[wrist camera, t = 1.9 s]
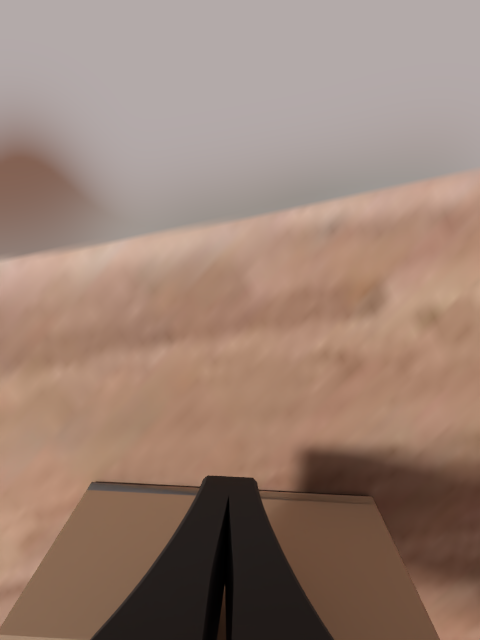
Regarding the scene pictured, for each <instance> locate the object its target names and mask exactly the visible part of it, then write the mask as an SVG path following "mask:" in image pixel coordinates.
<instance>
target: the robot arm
mask: <svg viewBox="0 0 480 640" xmlns="http://www.w3.org/2000/svg"><path fill="white" fill-rule="evenodd" d="M224 586H225V609H226V640H334V639H333V637H332V636H331V634H330V633H329V631H328V629H327V628H326V626H325V625H324V623H323V622H322V620H321V619H320V617H319V615H318V614H317V612H316V610H315V609H314V607H313V606H312V604H311V602H310V601H309V599H308V597H307V596H306V594H305V592H304V590H303V589H302V587H301V585H300V583H299V581H298V580H297V578H296V576H295V574H294V572H293V570H292V568H291V566H290V564H289V563H288V561H287V559H286V557H285V555H284V553H283V551H282V549H281V546H280V544H279V542H278V540H277V537H276V535H275V533H274V531H273V529H272V526H271V524H270V522H269V519H268V517H267V514H266V511H265V509H264V506H263V503H262V500H261V497H260V494H259V490H258V486H257V482H256V481H255V480H254V478H245V477H226V476H207V477H205V478H204V479H203V481H202V484H201V486H200V489H199V491H198V493H197V495H196V497H195V499H194V501H193V502H192V504H191V506H190V508H189V510H188V511H187V513H186V515H185V516H184V518H183V520H182V521H181V523H180V524H179V526H178V528H177V529H176V531H175V533H174V534H173V536H172V537H171V539H170V540H169V542H168V543H167V545H166V546H165V547H164V549H163V550H162V552H161V553H160V555H159V556H158V557H157V559H156V560H155V562H154V563H153V564H152V566H151V567H150V569H149V570H148V571H147V573H146V574H145V575H144V577H143V578H142V579H141V580H140V582H139V583H138V584H137V586H136V587H135V588H134V589H133V591H132V592H131V593H130V594H129V595H128V597H127V598H126V599H125V600H124V601H123V603H122V604H121V605H120V606H119V607H118V609H117V610H116V611H115V612H114V613H113V614H112V615H111V617H110V618H109V619H108V620H107V621H106V622H105V623H104V624H103V625H102V627H101V628H100V629H99V630H98V631H97V632H96V633H95V634H94V636H93V637H92V638H91V639H90V640H217V635H218V628H219V621H220V614H221V607H222V600H223V593H224Z"/></svg>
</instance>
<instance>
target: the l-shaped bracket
mask: <svg viewBox="0 0 480 640" xmlns="http://www.w3.org/2000/svg"><path fill="white" fill-rule="evenodd" d="M199 489H200V488H195V487H175V486H156V485H137V484H118V483H98V482H92V483H91V484H90V486H89V488H88V489H87V491H86V492H85V494H84V495H83V497H82V499H81V500H80V502H79V503H78V505H77V507H76V508H75V510H74V511H73V513H72V515H71V516H70V518H69V519H68V521H67V522H66V524H65V526H64V527H63V529H62V530H61V532H60V534H59V535H58V537H57V538H56V540H55V542H54V543H53V545H52V546H51V548H50V549H49V551H48V553H47V554H46V556H45V557H44V559H43V561H42V562H41V564H40V565H39V567H38V569H37V570H36V572H35V573H34V575H33V576H32V578H31V580H30V581H29V583H28V584H27V586H26V588H25V589H24V591H23V592H22V594H21V596H20V597H19V599H18V600H17V602H16V603H15V605H14V607H13V608H12V610H11V611H10V613H9V615H8V616H7V618H6V619H5V621H4V623H3V624H2V626H1V627H0V640H90V639H91V638H92V637H93V636H94V634H95V633H96V632H97V631H98V630H99V629H100V628H101V627H102V625H103V624H104V623H105V622H106V621H107V620H108V619H109V618H110V617H111V615H112V614H113V613H114V612H115V611H116V610H117V609H118V607H119V606H120V605H121V604H122V603H123V601H124V600H125V599H126V598H127V597H128V595H129V594H130V593H131V592H132V591H133V589H134V588H135V587H136V586H137V584H138V583H139V582H140V580H141V579H142V578H143V577H144V575H145V574H146V573H147V571H148V570H149V569H150V567H151V566H152V564H153V563H154V562H155V560H156V559H157V557H158V556H159V555H160V553H161V552H162V550H163V549H164V547H165V546H166V545H167V543H168V542H169V540H170V539H171V537H172V536H173V534H174V533H175V531H176V529H177V528H178V526H179V524H180V523H181V521H182V520H183V518H184V516H185V515H186V513H187V511H188V510H189V508H190V506H191V504H192V502H193V501H194V499H195V497H196V495H197V493H198V491H199ZM259 494H260V497H261V500H262V503H263V506H264V509H265V511H266V514H267V517H268V519H269V522H270V524H271V526H272V529H273V531H274V533H275V535H276V537H277V540H278V542H279V544H280V546H281V549H282V551H283V553H284V555H285V557H286V559H287V561H288V563H289V564H290V566H291V568H292V570H293V572H294V574H295V576H296V578H297V580H298V581H299V583H300V585H301V587H302V589H303V590H304V592H305V594H306V596H307V597H308V599H309V601H310V602H311V604H312V606H313V607H314V609H315V610H316V612H317V614H318V615H319V617H320V619H321V620H322V622H323V623H324V625H325V626H326V628H327V629H328V631H329V633H330V634H331V636H332V637H333V639H334V640H440V639H439V637H438V634H437V632H436V630H435V628H434V626H433V624H432V622H431V620H430V618H429V616H428V613H427V611H426V609H425V607H424V605H423V603H422V601H421V599H420V597H419V594H418V592H417V590H416V588H415V586H414V584H413V582H412V580H411V578H410V575H409V573H408V571H407V569H406V567H405V565H404V563H403V561H402V559H401V556H400V554H399V552H398V550H397V548H396V546H395V544H394V542H393V540H392V538H391V535H390V533H389V531H388V529H387V527H386V525H385V523H384V521H383V519H382V516H381V514H380V512H379V510H378V508H377V506H376V504H375V502H374V500H373V497H368V496H349V495H330V494H310V493H291V492H272V491H259ZM217 640H226V609H225V586H224V593H223V600H222V607H221V614H220V621H219V628H218V635H217Z"/></svg>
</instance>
